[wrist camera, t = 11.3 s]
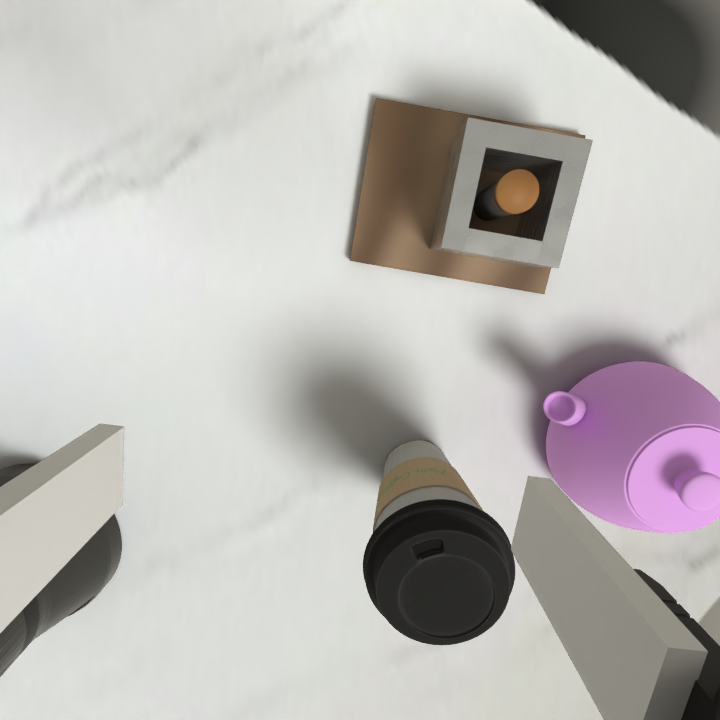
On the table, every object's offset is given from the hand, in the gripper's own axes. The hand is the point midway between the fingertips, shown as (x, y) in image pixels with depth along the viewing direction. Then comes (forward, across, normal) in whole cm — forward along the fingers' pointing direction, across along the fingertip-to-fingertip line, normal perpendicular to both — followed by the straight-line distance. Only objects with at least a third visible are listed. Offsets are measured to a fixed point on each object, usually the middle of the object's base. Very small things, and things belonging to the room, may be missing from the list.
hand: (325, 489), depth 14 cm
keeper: (+24, +8, +13) cm, 28 cm away
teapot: (+24, +24, -4) cm, 34 cm away
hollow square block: (+23, +10, +13) cm, 28 cm away
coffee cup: (+24, +8, -10) cm, 28 cm away
